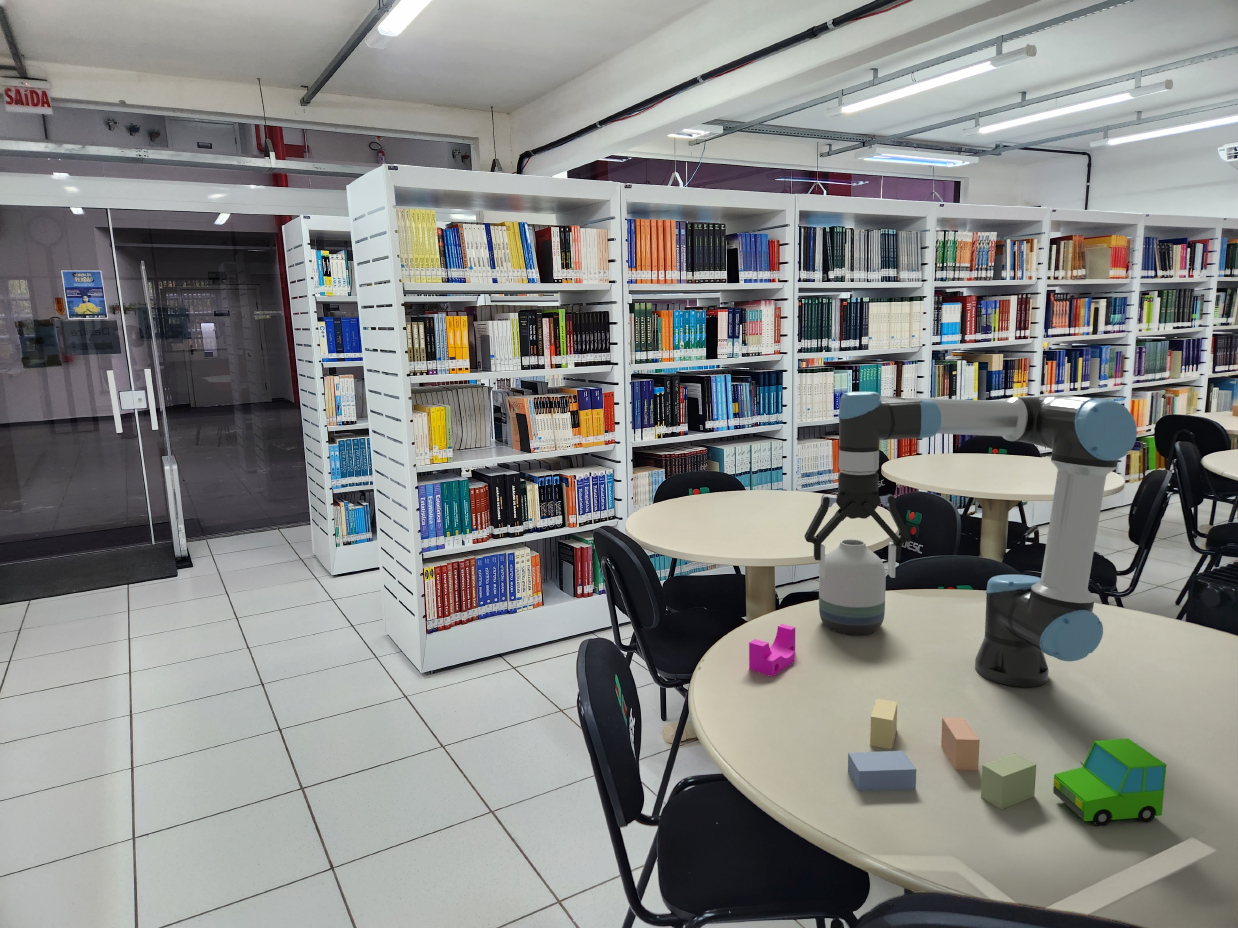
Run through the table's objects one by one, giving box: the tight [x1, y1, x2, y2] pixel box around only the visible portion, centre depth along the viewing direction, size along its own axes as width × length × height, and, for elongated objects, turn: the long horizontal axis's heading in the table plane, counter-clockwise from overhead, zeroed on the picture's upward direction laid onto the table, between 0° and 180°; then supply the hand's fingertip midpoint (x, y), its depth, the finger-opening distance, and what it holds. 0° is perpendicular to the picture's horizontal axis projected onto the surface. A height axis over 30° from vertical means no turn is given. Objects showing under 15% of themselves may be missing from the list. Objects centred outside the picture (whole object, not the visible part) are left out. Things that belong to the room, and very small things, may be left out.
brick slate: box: [847, 750, 917, 792], centre depth 136 cm, size 10×6×4 cm, turn 91°
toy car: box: [1052, 738, 1167, 827], centre depth 125 cm, size 10×13×10 cm
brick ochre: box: [869, 698, 898, 750], centre depth 150 cm, size 8×4×6 cm, turn 154°
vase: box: [818, 538, 887, 636], centre depth 204 cm, size 17×17×24 cm
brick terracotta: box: [940, 717, 981, 771], centre depth 142 cm, size 8×4×6 cm, turn 174°
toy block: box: [748, 623, 796, 677], centre depth 184 cm, size 15×6×8 cm, turn 138°
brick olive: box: [980, 752, 1037, 810], centre depth 129 cm, size 8×4×6 cm, turn 115°
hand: (856, 575), depth 153 cm, fingers open, 13 cm apart
